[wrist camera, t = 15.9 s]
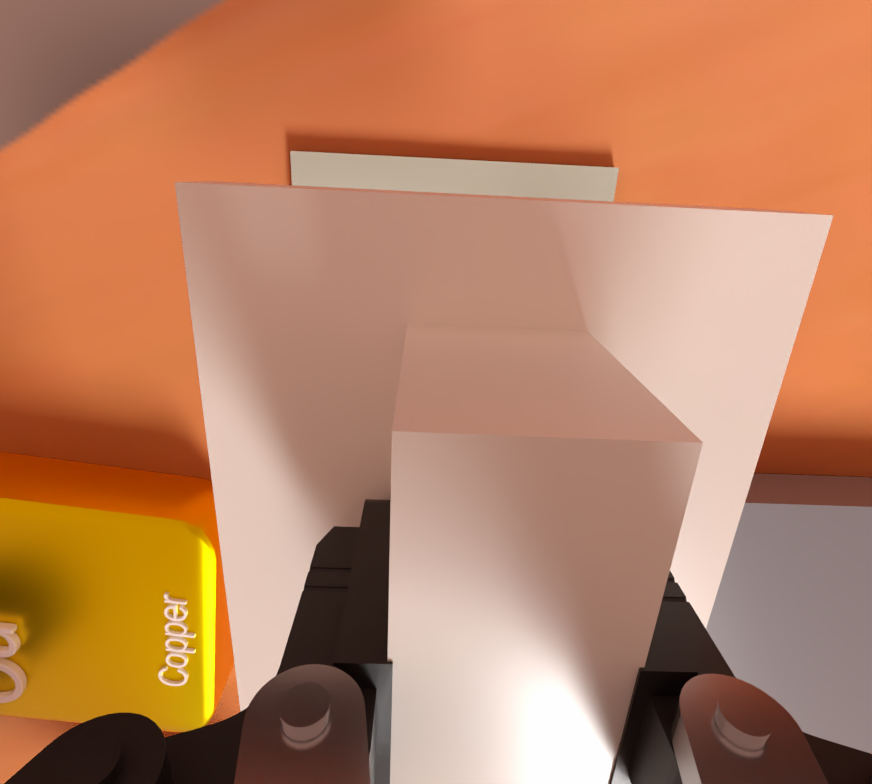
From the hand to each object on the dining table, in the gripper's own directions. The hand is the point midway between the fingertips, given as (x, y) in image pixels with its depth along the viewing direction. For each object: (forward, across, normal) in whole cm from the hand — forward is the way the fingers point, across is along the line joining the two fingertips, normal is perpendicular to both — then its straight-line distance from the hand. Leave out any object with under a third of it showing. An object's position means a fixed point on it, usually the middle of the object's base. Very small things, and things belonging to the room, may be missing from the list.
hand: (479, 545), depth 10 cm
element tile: (+18, +19, +16) cm, 31 cm away
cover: (+2, 0, 0) cm, 2 cm away
